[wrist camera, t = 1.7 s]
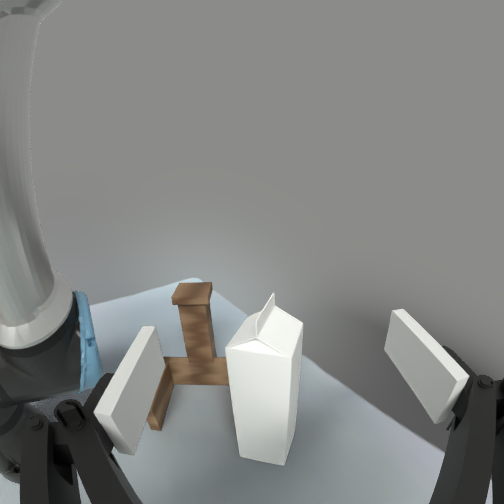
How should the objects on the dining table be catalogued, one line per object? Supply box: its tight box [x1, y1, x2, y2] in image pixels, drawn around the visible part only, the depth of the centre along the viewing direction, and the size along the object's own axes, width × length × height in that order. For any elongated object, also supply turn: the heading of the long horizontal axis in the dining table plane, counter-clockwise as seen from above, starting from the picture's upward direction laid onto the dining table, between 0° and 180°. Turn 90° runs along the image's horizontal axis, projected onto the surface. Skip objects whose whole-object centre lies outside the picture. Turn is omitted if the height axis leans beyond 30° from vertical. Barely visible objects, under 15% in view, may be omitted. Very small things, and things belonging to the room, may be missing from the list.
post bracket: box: [147, 282, 236, 431], centre depth 37 cm, size 14×16×17 cm
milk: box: [225, 293, 303, 466], centre depth 27 cm, size 6×6×22 cm
